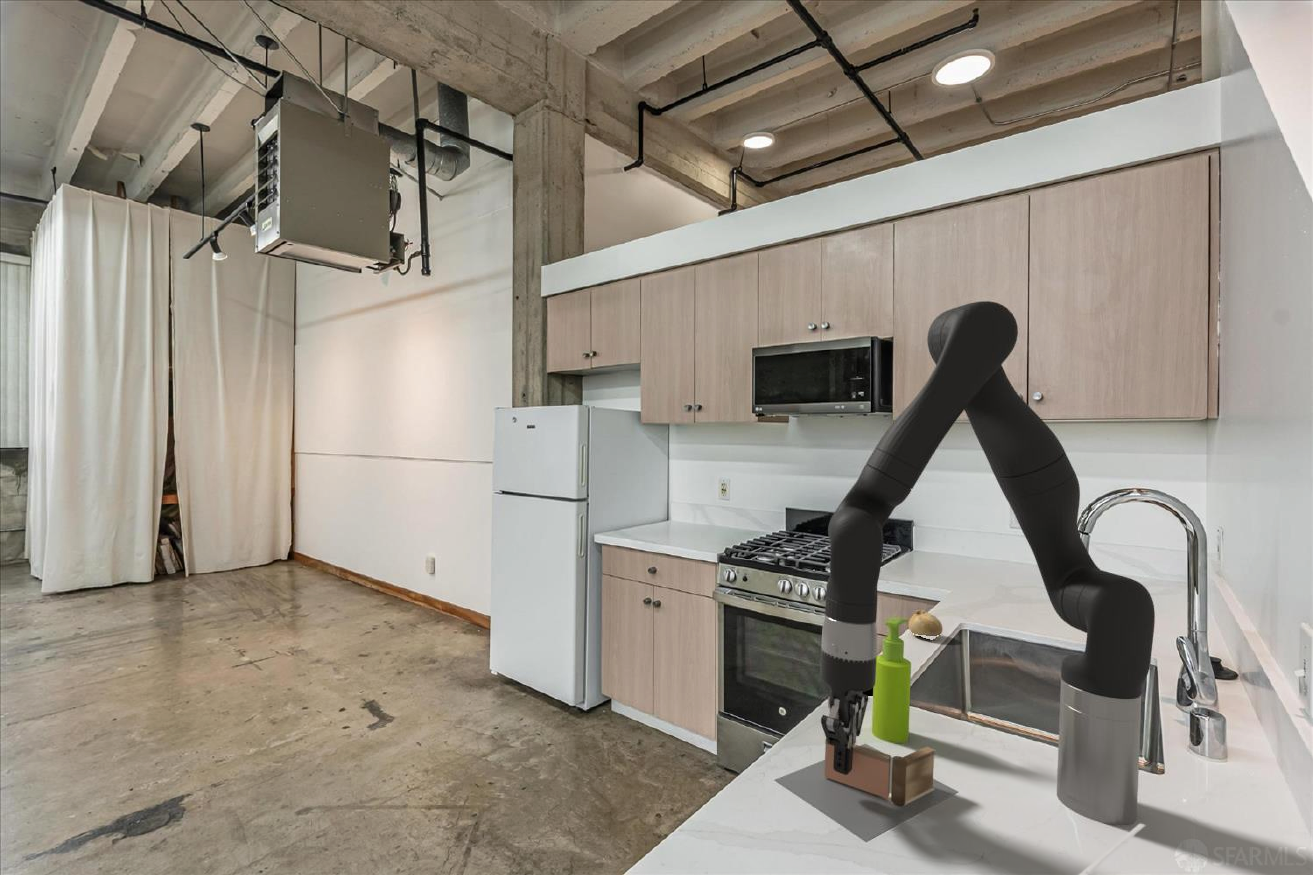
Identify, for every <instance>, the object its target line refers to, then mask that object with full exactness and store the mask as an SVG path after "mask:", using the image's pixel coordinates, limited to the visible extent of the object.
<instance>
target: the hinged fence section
mask: <svg viewBox="0 0 1313 875" xmlns="http://www.w3.org/2000/svg"><path fill="white" fill-rule="evenodd" d="M852 746H853V760H852V770H851V771H850V772H849V774H848V775H844V774H842V773H839V772H836V771H835V770H834V768H833V764H834V746H833V745H830V744H828V742H827V739H826V738H825V747H824V748H825V749H824V750H825V751H824V752H825V754H824V760H825V775H824V777H827V778H830V779H833V780H835V781H838V782H841V783H844V784H847V785H850V786H853V787H856V788H859V789H861V790H864V791H867V792H870V793H873V794H876V795H879V796H882V797H885V798H887V799H888V797H889V789H890V761H891V757H892V755H891V754H888V753H885V752H883V753H881V752H882V751H881V752H878V751H875V750H872V749H868V748H865V747H862V746H860V745H858V744H855V745H852Z"/></svg>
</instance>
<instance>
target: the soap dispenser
mask: <svg viewBox="0 0 1313 875" xmlns="http://www.w3.org/2000/svg"><path fill="white" fill-rule="evenodd" d="M905 623H906V624H907V623H909V619H906V618H902V617H897V616H892V617H891V618H889V619H888V620H885V626H888V631H887V632H888V634H887V636H885V637H883V639H882V654H877V658H876V678H875V686H874V687H873V699H872V717H871V718H872V719H871V720H872V721H871V722H872V723H871V733H872V735H873V736H875V737H876V738H878V739H879V740H881V741H883V742H886V743H887V742H888V743H894V744H903V743H905V742H907V741H909V733H910V710H911V708H910V706H911V705H910V703H911V702H910V701H911V679H912V678H911V677H912V676H911V675H912V674H911V673H912V662H911V661H910V660H909V659H907V658H904V652H905V651H904V650H905V649H904V648H905V647H904V646H905V641H904V640H903V639H902V638H900V626H901V625H903V624H905Z"/></svg>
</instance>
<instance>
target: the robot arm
mask: <svg viewBox="0 0 1313 875" xmlns="http://www.w3.org/2000/svg"><path fill="white" fill-rule="evenodd" d="M927 332H928V333H927V342H926V343H927V348H928V352H929V354H930V357H931V358H932V361H933V362H934V364H935V367H934V368H933V370H932V373H930V374H931V375H929V377H928V379H927V380H926V383H924V386H923V387H922V389H921V390H920V391H919V392H918V394H917V395H916V396H915V398H913V400H912V401H911V403H910V404H909V405H907V407H906V408H905V409H903V411H902V412H901V413H900V414H899V416H898V417H896V419H895V420H894V421H893V422H892V423H891V425H889V427H888V429H887V430H886V431H885V432H884V434H883V435H882V436H881V438H880V440H879V441H878V443H877V444H876V447H875V448H874V449H873V451H872V453H871V455H870V456H869V458H868V460H867V461H866V463H865V465H864V467H863V468H862V470H861V472H860V475H859V476H858V478H857V480H856V482H855V483H854V485H853V486H852V487H851V488H850V490H848V493H846V495H845V497H844V498H843V499H842V501H841V502H840V504H839V505H838V506H837V508H836V509H835V511H834V512H833V514H832V516H831V518H830V520H829V523H828V528H827V534H828V538H829V542H830V545H829V546H830V556H829V578H828V580H827V584H826V590H825V604H824V606H825V607H824V620H823V623H822V624H823V625H822V630H821V633H822V634H821V648H820V650H821V651H820V668H819V669H820V670H819V675H820V676H819V677H820V679H821V681H823V682H824V683H825V684H827V685H828V686H829V687H830V690H831V691H830V694H829V695H828V698H827V708H828V709H829V712H828V716H827V715H826V714H822V715H821V718H820V723H821V727H822V729H823V732H824V736H825V740H826V739H827V742H828V744H830V745H833V746H834V764H833V768H834V770H835V771H836V772H839V773H842V774H844V775H848V774H849V772H850V771H851V770H852V760H853V746H852V745H856V743H857V737H860V734H861V731H862V726H863V722H864V717H865V714H866V711H867V705H868V702H869V698H868V696H867V695H863V694H862V692H863V691H867V690H870V689H872V688H873V687H874V686H875V678H876V658H877V656H878V626H877V613H878V584H879V583H878V582H879V578H880V573H881V567H882V561H883V553H884V533H883V528H884V526H885V524H886V522H887V521H888V519H889V517H890V516H891V515H892V513H893V511H894V510H895V508H897V507H898V506H899V505H901V504H902V503H903V502H905V500H906V499H907V498H908V496H909V495H910V494H911V492H912V489H914V487H915V485H916V484H917V482H918V480H919V479H920V477H921V476H922V474H923V472H924V470H925V469H926V468H927V465H928V464H929V462H930V460H931V459H932V457H933V456H934V455H935V452H936V451H937V449H938V448H939V446H940V444H941V443H942V441H943V440H944V438H945V437H946V436H947V434H948V433H949V431H950V430H951V429H952V427H953V426H954V424H955V423H956V421H957V420H958V419H959V417H960V416H961V415H962V413H963V412H965V414H966V417H967V418H968V421H969V423H970V425H971V428H972V430H973V432H974V434H975V436H976V438H977V440H978V442H979V445H980V447H981V449H982V451H983V453H984V455H985V457H986V459H987V461H988V462H987V463H988V464H989V465H990V469H991V471H992V473H993V475H994V477H995V479H996V481H997V483H998V485H999V487H1000V489H1001V492H1002V494H1003V495H1004V497H1005V499H1006V500H1007V502H1008V504H1009V506H1010V509H1011V510H1012V512H1013V514H1014V516H1015V518H1016V522H1018V525H1019V528H1020V529H1021V531H1022V534H1023V536H1024V537H1025V538H1026V541H1027V543H1028V544H1029V545H1028V546H1029V547H1030V549H1031V551H1032V554H1033V556H1034V559H1035V561H1036V564H1037V565H1036V566H1037V567H1038V571H1039V573H1040V576H1041V579H1042V581H1043V585H1044V587H1045V590H1046V593H1047V596H1048V598H1049V601H1050V603H1051V605H1052V608H1053V610H1054V611H1055V612H1056V614H1057V615H1058V617H1059V618H1060V619H1061V620H1062V621H1063V622H1065V623H1066V624H1067V625H1068V626H1070V627H1072V628H1074V629H1076V630H1079V631H1081V632H1083V633H1085V634H1086V641H1085V647H1084V653H1083V654H1071V655H1067V656H1066V657H1064V658H1063V659H1062V661H1061V669H1060V670H1061V671H1060V674H1061V675H1060V693H1059V694H1060V695H1059V700H1060V701H1059V720H1058V721H1059V723H1058V724H1059V725H1058V748H1057V750H1058V751H1057V752H1058V753H1057V754H1058V755H1057V774H1056V776H1057V777H1056V796H1057V798H1058V800H1059V802H1060V803H1061V804H1062V805H1064V806H1065V807H1066V808H1068V810H1070V811H1072V812H1074V813H1076V814H1077V815H1080V816H1082V817H1084V818H1086V819H1089V820H1091V821H1095V822H1098V823H1102V824H1104V825H1105V824H1107V825H1110V826H1111V825H1112V826H1120V827H1121V826H1123V827H1125V826H1130V825H1133V824H1134V823H1136V822H1137V816H1138V792H1139V772H1140V771H1139V770H1140V769H1139V768H1140V766H1139V765H1140V742H1141V740H1140V738H1141V737H1140V736H1141V720H1142V719H1141V715H1142V714H1141V711H1142V710H1141V709H1142V693H1143V692H1142V691H1143V690H1142V689H1143V684H1144V682H1145V680H1146V678H1147V676H1148V675H1149V673H1150V672H1149V671H1150V667H1151V663H1152V650H1153V641H1154V634H1155V632H1154V631H1155V623H1156V622H1155V620H1156V617H1155V616H1156V614H1155V613H1156V612H1155V605H1154V601H1153V598H1152V596H1151V595H1152V594H1151V593H1150V592H1149V590H1148V589H1147V588H1146V587H1145V585H1143V584H1142V583H1141V582H1139V581H1137V580H1135V579H1132V578H1131V577H1127V576H1123V575H1119V574H1117V573H1114V572H1113V573H1111V572H1110V571H1107V570H1102V569H1100V568H1099V567H1098V565H1096V563H1095V562H1094V560H1093V558H1092V557H1091V555H1090V553H1089V551H1088V550H1087V548H1086V546H1085V543H1084V541H1083V539H1082V537H1081V535H1080V532H1079V531H1080V530H1079V526H1078V517H1079V509H1080V503H1081V502H1080V500H1081V489H1080V482H1079V479H1078V477H1077V474H1076V472H1075V470H1074V468H1073V465H1072V464H1071V461H1070V459H1069V457H1068V455H1067V453H1066V450H1065V449H1064V447H1063V445H1062V443H1061V442H1060V440H1059V438H1058V437H1057V436H1056V435H1055V433H1054V432H1053V431H1052V430H1051V428H1050V427H1049V426H1048V424H1046V423H1045V421H1044V420H1043V419H1042V418H1041V417H1040V416H1039V415H1038V414H1037V413H1036V412H1035V411H1034V410H1033V409H1032V407H1031V406H1029V405H1028V403H1026V401H1025V400H1023V399H1022V397H1021V396H1020V395H1019V394H1018V392H1017V391H1016V390H1015V388H1014V387H1013V385H1012V384H1011V382H1010V380H1009V378H1008V376H1007V374H1006V371H1005V369H1004V367H1003V363H1004V362H1005V361H1006V360H1007V358H1008V357H1009V356H1010V355H1011V353H1012V351H1013V350H1014V349H1015V346H1016V343H1017V342H1018V341H1017V340H1018V335H1019V327H1018V324H1017V320H1016V318H1015V316H1014V314H1013V312H1011V311H1010V310H1009V308H1007V307H1006V306H1005V305H1003V304H1001V303H998V302H994V301H990V300H989V301H988V300H987V301H984V300H983V301H982V300H981V301H975V302H970V303H969V302H968V303H966V304H964V305H961V306H960V305H959V306H957V307H953V308H951V309H948V310H946V311H944V312H942V313H940V314H939V315H937V316H936V317H935V319H934V320H933V321H932V323H931V324H930V327H929V330H927Z"/></svg>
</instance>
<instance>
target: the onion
mask: <svg viewBox="0 0 1313 875" xmlns="http://www.w3.org/2000/svg"><path fill="white" fill-rule="evenodd" d="M908 629H909V631H910V630H911V632H912V633H914V634H918V635H926V636H937V635H940V634H941V635H942V633H943V624H942V622H941V620H939V619H938V617H936V615H934V614H932V613H929V612H927V611H926V610H924V609H916V610H915V612H914V614H913V615H912V616H911V617H910V619H909V620H908ZM911 632H910V633H911ZM912 633H911V634H912ZM941 635H940V636H941Z"/></svg>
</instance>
